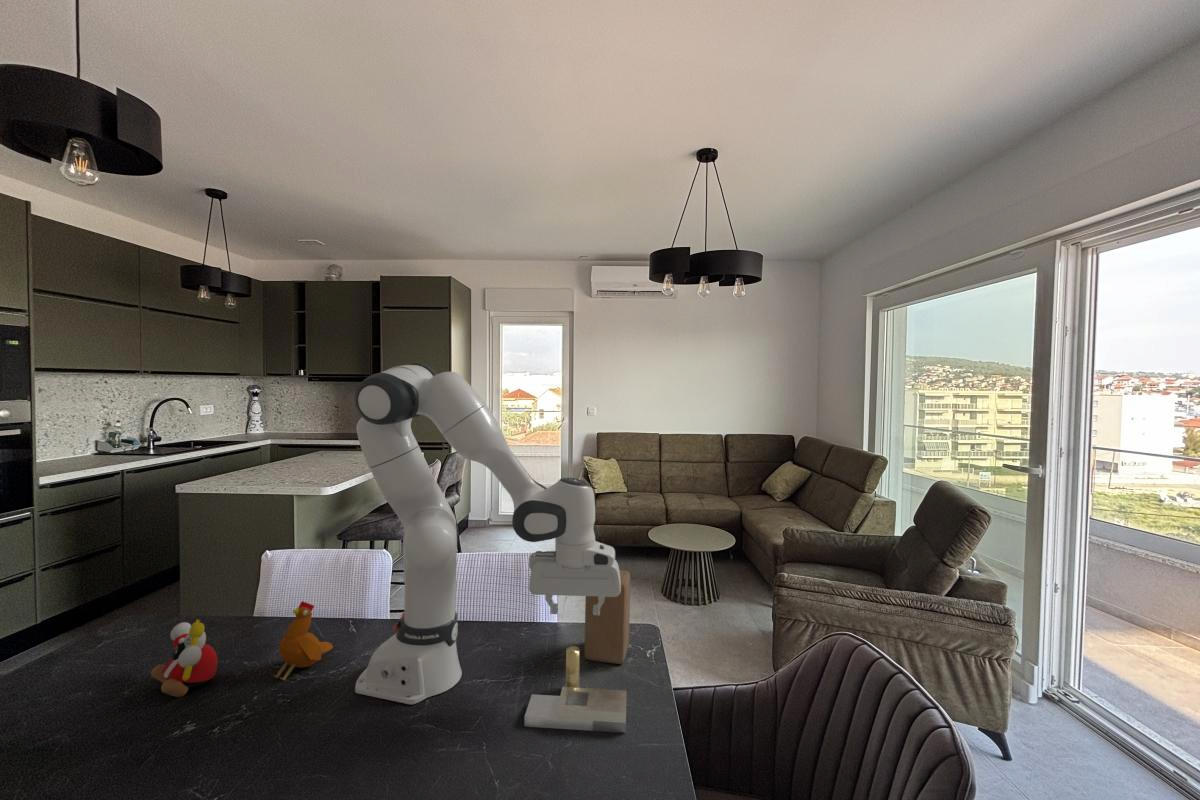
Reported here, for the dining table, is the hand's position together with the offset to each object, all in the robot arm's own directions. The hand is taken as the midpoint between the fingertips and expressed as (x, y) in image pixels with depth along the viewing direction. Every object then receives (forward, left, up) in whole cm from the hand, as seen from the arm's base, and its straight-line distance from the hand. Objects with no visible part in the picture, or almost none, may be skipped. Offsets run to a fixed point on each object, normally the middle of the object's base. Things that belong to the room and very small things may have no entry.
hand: (575, 613), depth 108 cm
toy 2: (-64, +3, -17) cm, 67 cm away
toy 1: (-84, -7, -17) cm, 86 cm away
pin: (0, 0, -17) cm, 17 cm away
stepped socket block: (+2, -9, -17) cm, 19 cm away
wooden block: (+7, +16, -17) cm, 24 cm away
